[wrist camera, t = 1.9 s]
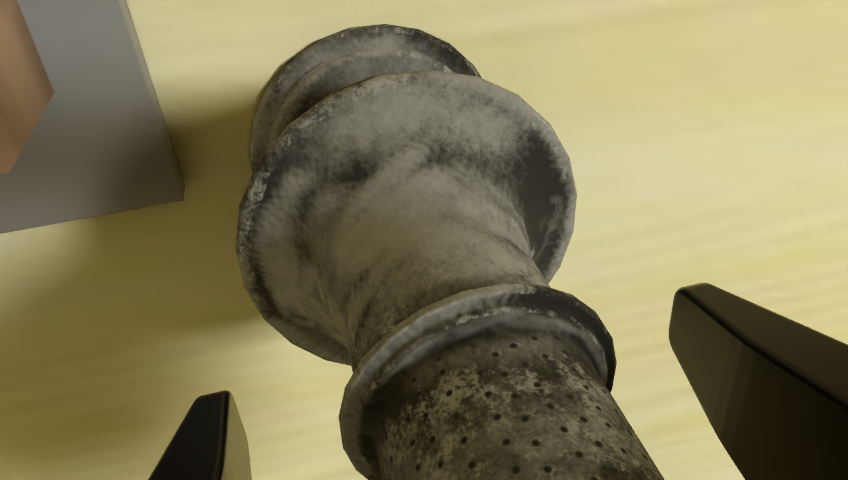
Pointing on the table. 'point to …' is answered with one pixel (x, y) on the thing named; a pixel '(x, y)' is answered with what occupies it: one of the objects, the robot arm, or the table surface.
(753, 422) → the robot arm
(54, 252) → the table surface
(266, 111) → the salt shaker
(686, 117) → the table surface
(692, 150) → the table surface
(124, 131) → the socket
